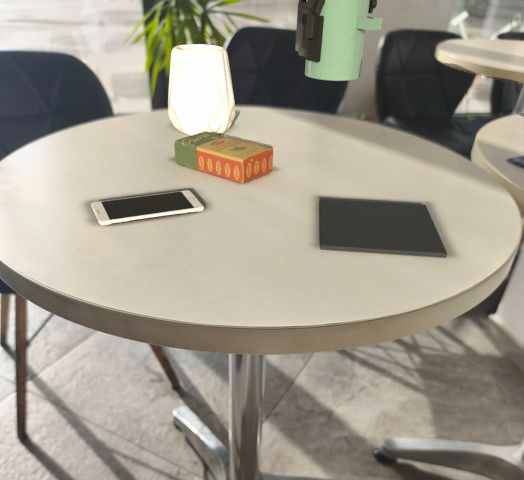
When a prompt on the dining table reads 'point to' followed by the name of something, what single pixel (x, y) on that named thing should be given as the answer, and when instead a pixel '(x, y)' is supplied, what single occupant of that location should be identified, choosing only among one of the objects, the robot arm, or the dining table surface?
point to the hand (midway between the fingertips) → (333, 58)
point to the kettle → (338, 39)
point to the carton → (224, 156)
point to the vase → (200, 89)
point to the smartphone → (146, 207)
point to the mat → (378, 228)
